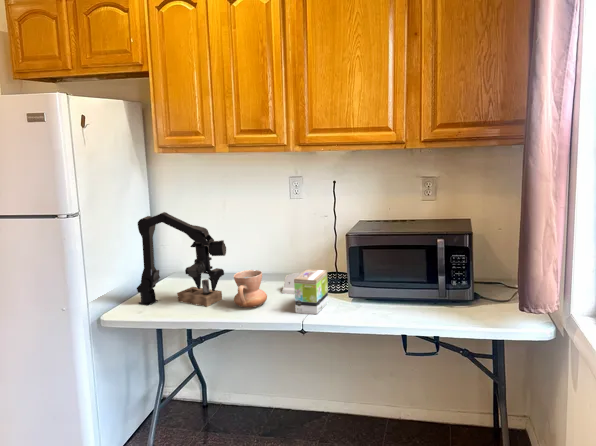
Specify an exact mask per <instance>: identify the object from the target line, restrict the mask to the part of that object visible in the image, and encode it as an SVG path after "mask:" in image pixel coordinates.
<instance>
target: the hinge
mask: <svg viewBox="0 0 596 446" xmlns="http://www.w3.org/2000/svg"><path fill="white" fill-rule="evenodd" d="M301 273H302V272H294V273H293V272H292V273H290V274H287V275H286V276H285V278H284V283H283V287H282V290H281V291H282V292H281V293H282V294H286V295H295V288H294V279H295V278H296V277H297V276H298V275H300V274H301Z"/></svg>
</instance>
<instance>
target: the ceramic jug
mask: <svg viewBox="0 0 596 446" xmlns="http://www.w3.org/2000/svg"><path fill="white" fill-rule="evenodd" d="M233 279H234V282H235V284H236V287H237V293H236V294H235V295H234V297H233V302H234V304H235V305H236V306H238V307H240V308H247V309H248V308H256V307H260V306H261V305H263V304H265V302H267V299H268V295H267V293H266V292H265V291H264V290H262V289H261V288H260V286H261V284H262V281H263V280H262V279H263V271H262V270H259V269H258V270H257V269H256V270H254V269H246V270H242V271H238V272H236V273H234V275H233Z"/></svg>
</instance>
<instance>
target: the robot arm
mask: <svg viewBox="0 0 596 446" xmlns="http://www.w3.org/2000/svg"><path fill="white" fill-rule="evenodd" d="M161 223H163V224H165V225H166V226H169V227H171V228H174V229H175V230H178V231H180V232H182V233H184V234H185V235H187V236H188V237H189V239H191V240H192V241H193V242H192V244H191V245H190V248H194V249H195V255H196V256H195V257H196V258H195V259H194V261H193V262H194V263H193V264H192V265H190V266H188V267H186V268H185V270H184V271H185V275H187V276H188V277H190V278H192V280H193V282H194V283H195V287H197V288H198V289H200V288H202V287H201V286H202V274H203V275H208V276H209V277H208V280H209V282H210V286H211V290H212V291H215V290H216V288H217V285H218V282H219V281H220V278H221V277H222V276H224V275H225V272H224V271H225V270H224V269H223V268H218V267H217V268H214V269H213V266H212V265H211V261H212V260H213V259H212V257H225V256H226V254H227V246H226V243H225V240H224V239H221V240H215V239H214V238H213V237H212V235H211V234H210V233H209V230H208V229H207V228H206V227H204V226H199V225H195V224H190V223H188V222H186V221H184V220H182V219H181V218H180V219H179V218H177V217H176V216H174V215H172V214H169V213H168V212H167V211H166V212H165V211H163V212H161V213H158V214H156V215H153V216H152V215H147V216H144V217H143V218H140V219H139V220H138V221H137V229H138V232H139V234H140V236H141V240H142V241H141V242H142V257H143V259H142V260H143V270H142V273H141V280H140V283H139V285H137V287H136V291H137V293H139V295H140V301H139V302H138V304H140V305H143V306H149V305H152V304H155V303H157V302H159V299H157V298H156V292H155V287H157V286H156V285H157V284H158V283H159V281H160V278H161V277H160V270H159V269H156V266H155V253H154V251H155V250H154V234H155V230H156V225H158V224H161ZM210 256H211V257H210Z"/></svg>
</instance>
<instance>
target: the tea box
mask: <svg viewBox="0 0 596 446" xmlns="http://www.w3.org/2000/svg"><path fill="white" fill-rule="evenodd" d="M300 273H301V274H300V275H298V276H297V277H296V278H295V279H294V288H295V294H294V304H295V305H294V307H295V308H294V309H295V314H305V315H307V314H309V315H318V313H320V312H321V310H323V308H325V307H326V306H327V304H328V303H329V289H328V287H329V284H328V270H327V269H326V270H325V269H324V270H323V269H322V270H321V269H305V270H304V271H302V272H300Z"/></svg>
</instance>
